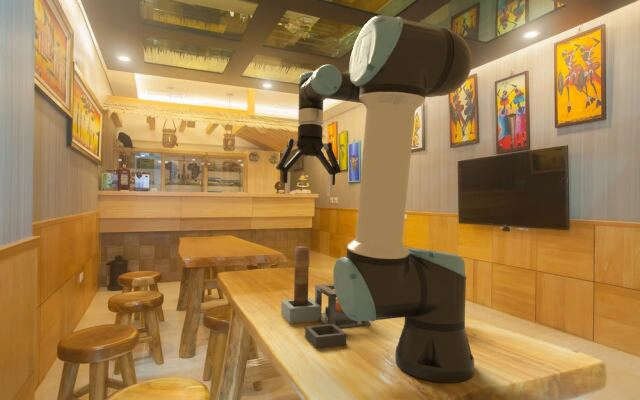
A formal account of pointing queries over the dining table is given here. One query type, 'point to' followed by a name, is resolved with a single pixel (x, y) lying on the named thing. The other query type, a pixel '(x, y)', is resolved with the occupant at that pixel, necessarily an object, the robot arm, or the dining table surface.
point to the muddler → (301, 276)
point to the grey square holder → (300, 311)
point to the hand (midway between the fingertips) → (308, 195)
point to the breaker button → (338, 307)
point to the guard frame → (333, 309)
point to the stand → (325, 336)
